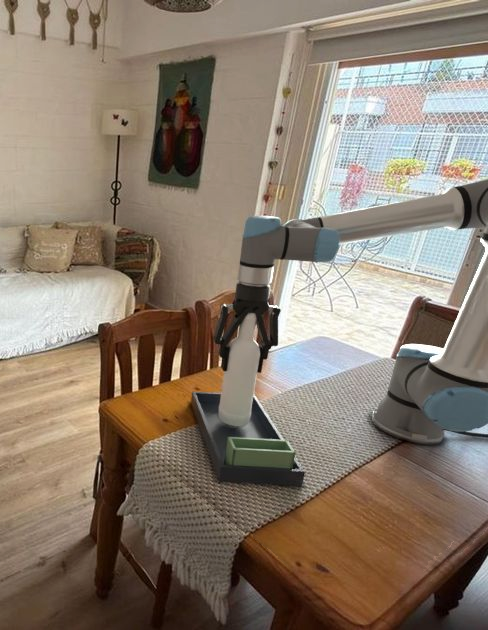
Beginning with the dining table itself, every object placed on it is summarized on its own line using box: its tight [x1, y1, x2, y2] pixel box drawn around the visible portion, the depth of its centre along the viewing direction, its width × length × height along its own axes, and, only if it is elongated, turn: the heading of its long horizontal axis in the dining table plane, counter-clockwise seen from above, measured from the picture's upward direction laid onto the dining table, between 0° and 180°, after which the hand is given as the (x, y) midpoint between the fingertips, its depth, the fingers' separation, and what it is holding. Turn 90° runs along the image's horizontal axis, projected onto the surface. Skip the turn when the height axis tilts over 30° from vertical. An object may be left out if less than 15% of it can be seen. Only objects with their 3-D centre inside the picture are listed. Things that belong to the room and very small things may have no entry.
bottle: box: [218, 313, 260, 427], centre depth 111 cm, size 8×8×30 cm
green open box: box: [224, 437, 296, 469], centre depth 97 cm, size 5×13×7 cm, turn 85°
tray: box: [190, 391, 306, 487], centre depth 111 cm, size 34×18×4 cm, turn 175°
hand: (240, 369), depth 111 cm, fingers closed on bottle, 8 cm apart
